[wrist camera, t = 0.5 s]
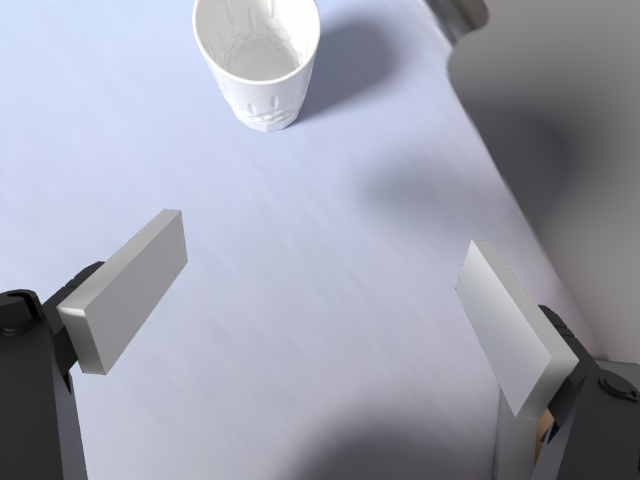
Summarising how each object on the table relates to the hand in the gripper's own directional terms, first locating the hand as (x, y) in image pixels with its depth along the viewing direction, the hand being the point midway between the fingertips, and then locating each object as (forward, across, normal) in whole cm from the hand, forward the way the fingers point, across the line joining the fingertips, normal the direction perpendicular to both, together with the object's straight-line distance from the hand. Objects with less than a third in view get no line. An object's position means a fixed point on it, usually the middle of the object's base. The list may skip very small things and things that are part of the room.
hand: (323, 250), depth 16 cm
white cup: (+20, +6, -4) cm, 21 cm away
